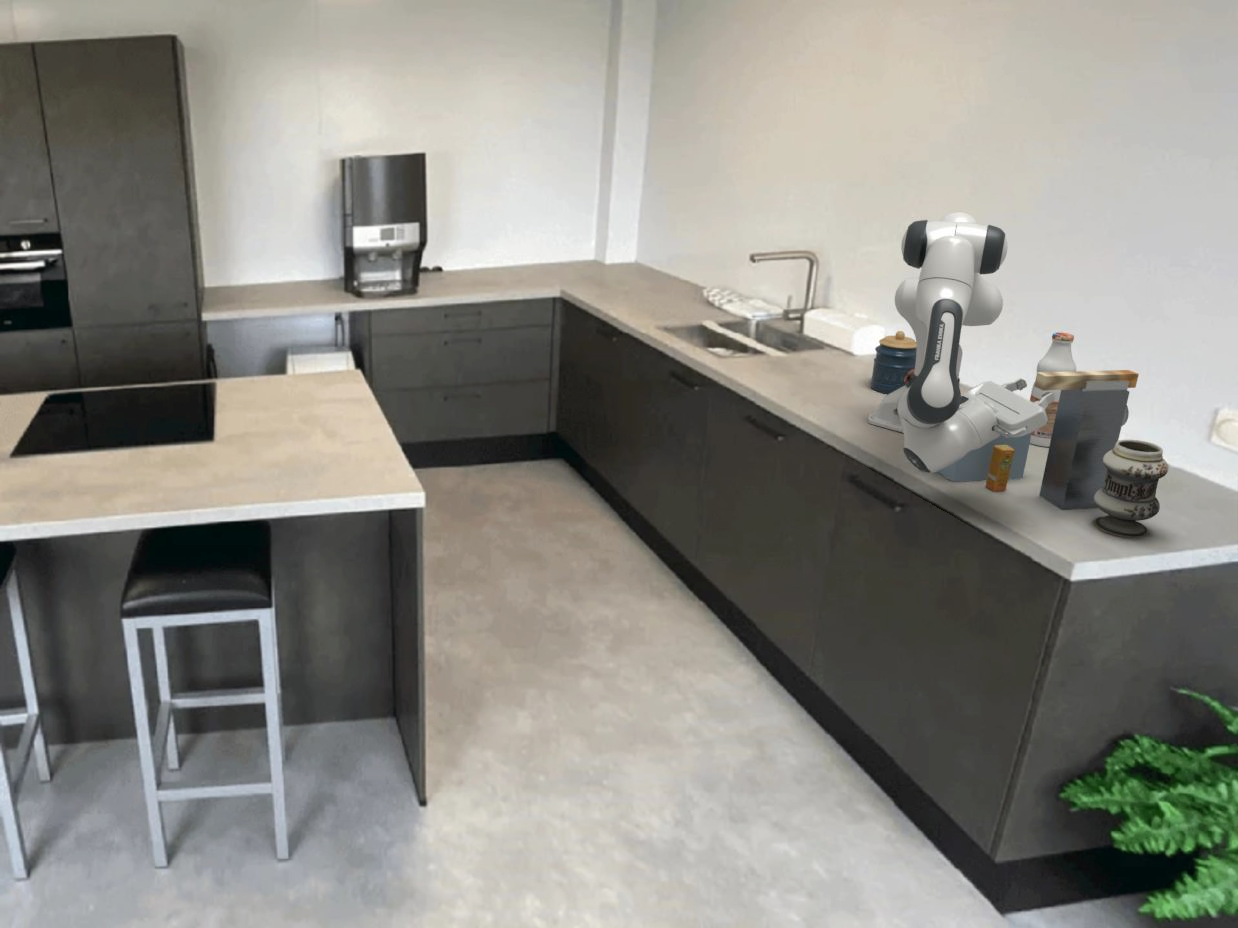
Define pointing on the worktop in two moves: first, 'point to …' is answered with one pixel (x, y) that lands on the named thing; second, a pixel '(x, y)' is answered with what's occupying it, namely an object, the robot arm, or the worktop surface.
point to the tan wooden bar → (1081, 379)
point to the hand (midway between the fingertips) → (1038, 388)
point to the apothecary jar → (1130, 487)
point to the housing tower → (1083, 442)
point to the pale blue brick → (988, 460)
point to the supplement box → (1000, 467)
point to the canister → (893, 362)
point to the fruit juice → (1052, 362)
